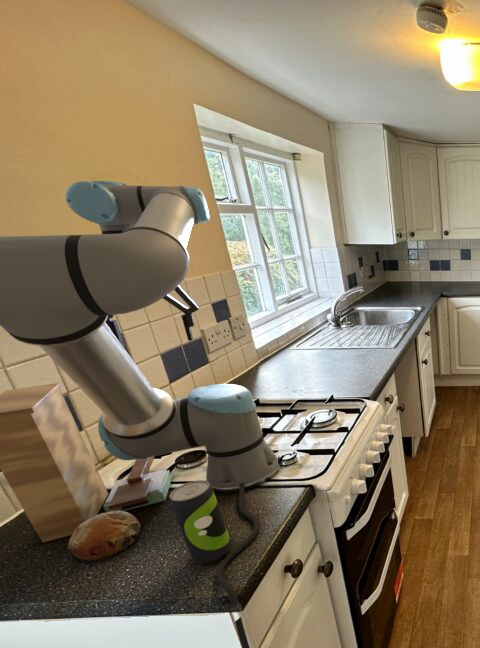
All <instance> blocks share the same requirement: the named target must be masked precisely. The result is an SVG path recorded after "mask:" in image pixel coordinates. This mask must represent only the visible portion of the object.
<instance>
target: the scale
mask: <svg viewBox="0 0 480 648" xmlns="http://www.w3.org/2000/svg"><path fill="white" fill-rule="evenodd" d="M151 478H152V479H153V484H152V487H151V489H150V492H149V495H148V498H147V500H146V501H143V502H139V503H136V504H132V505H128V506H124V507H120V508H116V509H112V510H110V509H109V507H108V506H109V504H110V502H111V500H112V498H113V496H114V494H115V492H116V490H117V488H118V486H121V485H126V484H128V482H127V479H128V477H127V478H121V479H118V480H115V482H114V485H113V486H112V488H111V490H110V492H109V493H108V495H107V497H106V499H105V501H104V503H103V505H102V506H103V509H104V511H105V513H106V512H111V511H124V512H127V511H130V510H135V509H138V508H141V507H145V506H149V505H153V504H157V503H161V502H165V501H166V499H167V496H168V492H169V489H170V486H171V482H172V480H173V477H172V475H171V472H170V470H169V469H168V470H167V469H161V470H155V471H152V472H148V474H147V477H146V479H145V480H147V479H151Z"/></svg>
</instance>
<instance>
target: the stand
mask: <svg viewBox="0 0 480 648" xmlns="http://www.w3.org/2000/svg"><path fill="white" fill-rule="evenodd" d="M62 388H63V385H62V383H61V382H56V383H47V384H42V385H35V386H27V387H20V388H13V389H6V390H4V391H3V392H1V393H0V471H1V473H2V474H3V476H4V478H5V480H6V482H7V483H8V485H9V487H10V488H11V490H12V492H13V493H14V496H15V497H16V499H17V501H18V502H19V504H20V507H22V510H23V512H24V513H25V515H26V517H27V518H28V519H29V522H30V523H31V525H32V527H33V528H34V531H35V532H36V534H37V536H38V537H39V539H40V541H41V543H42V544H43V543H47V542H50V541H54V540H58V539H62V538H66V537H69V536H72V534H73V532H74V531H75V529H76V528H77V527H78V526H79V525H80V524H82V523H83V522H85V521H86V520H88V519H90V518H92V517H94V516H96V515H99V514H100V510H101V509H102V506H104V504H105V502H106V500H107V498H108V496H109V492H108V490H107V487H106V486H105V483H104V481H103V479H102V477H101V474H100V472H99V470H98V468H97V465H96V463H95V461H94V459H93V457H92V455H91V453H90V450H89V448H88V446H87V444H86V443H85V440H84V438H83V436H82V433H81V431H80V429H79V427H78V425H77V423H76V421H75V419H74V417H73V414H72V412H71V410H70V408H69V406H68V404H67V401H66V399H65V397H64V395H63V392H62V391H61V389H62Z"/></svg>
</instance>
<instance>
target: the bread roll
mask: <svg viewBox="0 0 480 648" xmlns="http://www.w3.org/2000/svg"><path fill="white" fill-rule="evenodd" d="M140 531H141V524H140V522H139V520H138V519H137V518H136V516H135V515H133V514H132V513H130V512H127V511H111V512H106V511H105V512H102V513H98V515H96V516H94V517H92V518H90V519H88V520H86V521H85V522H83V523H82V524H80V525H79V526H78V527H77V528H76V529H75V531H74V532H73V534H72V535H70V538H69V540H68V549H69V550H70V551H71V553H72V555H73V556H74V557H75V558H77V559H80V560H83V561H96V560H102V559H105V558H109V557H111V556H113V555H115V554H117V553H119V552H120V551H123V550H125V549H127V548H128V547H129V546H130V545H133V543H134V542H135V541H136V539H137V538H138V536H139V534H140Z"/></svg>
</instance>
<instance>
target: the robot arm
mask: <svg viewBox="0 0 480 648" xmlns="http://www.w3.org/2000/svg"><path fill="white" fill-rule="evenodd" d="M65 201H66V204H67V205H68V207H69V208H70V209H71V211H72V212H73V213H74V214H76V215H77V216H79V217H80V218H82V219H84V220H86V221H89V222H90V223H94V224H98V226H99V229H100V232H101V233H99V234H98V233H96V234H94V233H92V234H59V235H57V234H55V235H54V234H53V235H17V236H16V235H15V236H13V235H11V236H9V235H8V236H0V326H1V328H2V329H4V330H5V332H7V333H8V334H9V335H10V336H11V337H12V338H13V339H15V340H16V341H18V342H20V343H22V344H26V345H29V346H35V347H36V346H37V347H39V348H41V350H42V351H43V352H45V354H46V355H47V356H48V357H49V358H50V359H51V360H52V361H53V362H54V363H55V364H56V366H58V367H59V368H60V369H61V370H62V371H63V372H64V373H65V375H67V377H69V378H70V379H71V380H72V381H73V383H74V384H76V385H77V386H78V388H79V389H80V390H81V391H82V392H83V393H84V394H85V395H86V396H87V397H88V398H89V399H90V400H91V401H92V402H93V403H94V404H95V405H96V406H97V407H98V408H99V409H100V411H102V414H101V415H100V417H99V420H98V425H97V426H98V427H97V428H98V435H99V438H100V441H101V442H103V443H104V445H103V447H104V448H105V449H106V450H107V451H108V453H109V454H110V455H112V456H113V457H115V458H116V459H118V460H121V461H134V460H135V461H136V459H146V458H150V457H153V456H155V457H158V456H162V455H166V454H167V455H168V454H171V453H172V454H173V453H176V452H177V453H178V452H182V451H185V450H191V449H196V448H201V447H204V448H205V450H206V453H207V465H206V475H205V476H206V477H205V478H206V481H207V482H208V483H209V485H210V486H211V487H212V488H213V491H214V492H216V493H223V494H224V493H227V494H228V493H237V492H238V502H237V507H238V511H239V513H240V514H241V515H242V516H243V517H245V518H246V519H247V520H249V521H251V522H252V524H253V530H252V532H251V534H250V535H249V536H248V537H247V538H246V539H245V540H244V541H243V542H242V543H241V544H239V545H238V546H237V547H236V548H235V549H233V550H232V551H231V552H230V553H228V554H227V556H225V558H224V559H223V560H222V561H221V563H220V564H219V566H218V568H217V570H216V574H215V578H216V579H215V580H216V582H217V583H218V584H219V585H220V586H221V587H222V588H223V589H224V590H225V592H226V594H227V595H228V598H229V601H230V604H231V605H232V606H234V605H236V604H237V603H238V602H239V601H238V596H237V593H236V591H235V589H234V587H233V586H232V584H231V583H230V582H229V581H227V580H226V578H225V577H224V572H225V568H226V566H227V565H228V564H229V562H230V561H231V560H233V559H234V557H235V556H236V555H238V554H239V553H240V552H241V551H242V550H243V549H245V548H246V547H247V546H248V545H250V543H251V542H252V541H253V540H254V539H255V538H256V537H257V535H258V533H259V530H260V527H261V526H260V522H259V520H258V518H257V517H256V516H254V515H252V514H251V513H250V512H248V511H247V510H246V509H245V506H244V499H245V490H248V489H249V490H250V489H252V488H254V487H256V486H259V485H261V484H263V483H265V482H266V481H268V480H270V479H271V478H272V477H273V476H274V475H276V473H277V472H278V471H279V468H280V462H279V460H278V456H277V455H276V454H275V452H274V451H273V450H272V448H271V447H270V446H269V444H268V443H267V442H266V441H265V438H264V435H263V431H262V428H261V423H260V420H259V417H258V412H257V409H256V408H257V405H256V403H255V402H254V398H253V396H252V393H251V391H250V390H249V389H248V388H247V387H244V386H242V385H238V384H233V383H214V384H207V385H204V386H199V387H197V388H194V389H192V390H190V391H189V393H188V396H187V397H181V398H174V399H173V398H172V397H171V396H170V395H169V394H168V393H167V392H165V391H163V390H161V389H158V388H154V387H153V385H152V384H151V382H149V380H148V379H147V377H146V376H145V374H144V373H143V372H142V370H141V369H140V367H138V365H137V364H136V362H135V361H134V360H133V358H132V357H131V356H130V354H129V353H128V352H127V350H126V348H125V347H126V345H125V344H126V343H125V341H124V338H123V334H122V333H121V330H120V326H119V323H118V321H117V319H113V318H114V316H115V315H125V314H128V313H134V312H137V311H139V310H142V309H145V308H148V307H150V306H151V305H153V304H155V303H157V302H159V301H160V300H164V301H166V302H167V303H169V304H170V305H172V306H173V307H174V308H176V309H177V310H179V311H181V312H182V313H183V314H181V320H182V323H183V327H184V331H185V334H186V338H187V340H188V342H191V341H193V340H194V336H193V332H192V329H191V328H193V327H195V321H194V317H193V313H195V312H197V311H199V310H200V307H199V305H197V303H196V302H195V301H194V300H193V299H192V298H191V296H189V295H188V294H187V292H186V291H184V289H183V288H182V287H181V286H180V285H181V283H182V282H183V281H184V279H185V278H186V276H187V274H188V271H189V266H190V255H189V253H188V251H187V246H188V241H189V239H190V235H191V231H192V227H193V225H199V224H206V223H209V221H210V212H209V208H208V203H207V200H206V197H205V195H204V193H203V191H202V189H201V188H198V187H195V186H184V185H179V186H178V185H177V186H176V185H175V186H174V185H173V186H171V185H170V186H168V185H167V186H166V185H165V186H164V185H132V184H131V185H129V184H127V183H124V182H120V181H112V180H111V181H110V180H91V181H87V180H82V181H76V182H74V183H71V184H70V185H69V186H68V188H67V189H66V191H65ZM174 291H175V293H176V294H177V295H178V296H179V297H180V299H182V300H183V302H184V303H186V305H187V306H188V307H187V306H186V305H184V303H181V302H180V301H179V300H177V299H176V298H174V297H173V296H172V295H170V294H171V293H172V292H174ZM278 462H279V463H278ZM234 624H235V629H236V631H237V635H238V638H239V642H240V645H241V648H251V647H250V643H249V640H248V637H247V634H246V630H245V627H244V623H243V619H242V616H240V617H238V618H237V619H236V620H235V621H234Z"/></svg>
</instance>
